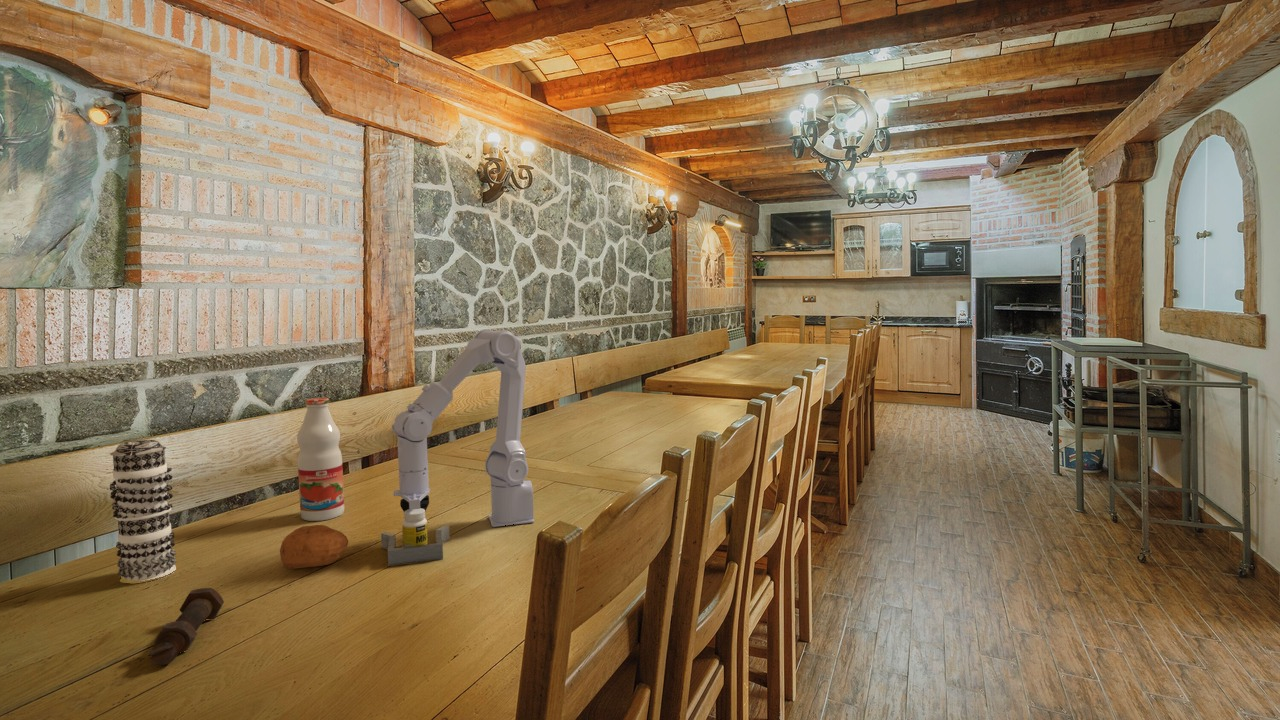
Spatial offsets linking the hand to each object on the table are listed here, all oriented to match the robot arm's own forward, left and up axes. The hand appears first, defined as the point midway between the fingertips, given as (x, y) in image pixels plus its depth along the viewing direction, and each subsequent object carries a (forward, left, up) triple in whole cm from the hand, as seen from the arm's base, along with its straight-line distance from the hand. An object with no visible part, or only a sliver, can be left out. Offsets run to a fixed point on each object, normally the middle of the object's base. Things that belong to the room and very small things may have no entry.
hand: (416, 532), depth 132 cm
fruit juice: (+21, -27, -3) cm, 34 cm away
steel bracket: (0, +5, -2) cm, 5 cm away
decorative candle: (+47, -1, -3) cm, 47 cm away
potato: (+18, +5, -3) cm, 19 cm away
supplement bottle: (0, +4, -2) cm, 5 cm away
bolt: (+33, +29, -3) cm, 44 cm away
